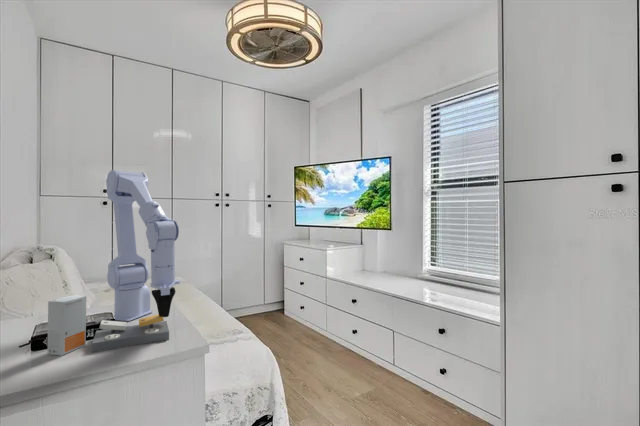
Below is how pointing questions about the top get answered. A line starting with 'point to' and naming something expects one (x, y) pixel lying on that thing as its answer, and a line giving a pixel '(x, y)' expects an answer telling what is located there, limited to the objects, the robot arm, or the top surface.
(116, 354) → the top surface
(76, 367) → the top surface
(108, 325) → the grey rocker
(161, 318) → the amber rocker
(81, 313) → the skincare box
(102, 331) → the power strip
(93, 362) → the top surface
